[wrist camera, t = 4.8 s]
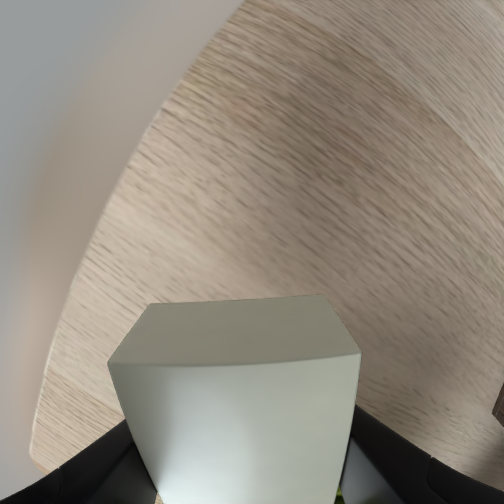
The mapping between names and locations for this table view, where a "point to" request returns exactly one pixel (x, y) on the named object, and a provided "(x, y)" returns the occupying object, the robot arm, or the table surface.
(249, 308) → the cream rectangular block
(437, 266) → the table surface
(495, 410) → the shallow rectangular tray
